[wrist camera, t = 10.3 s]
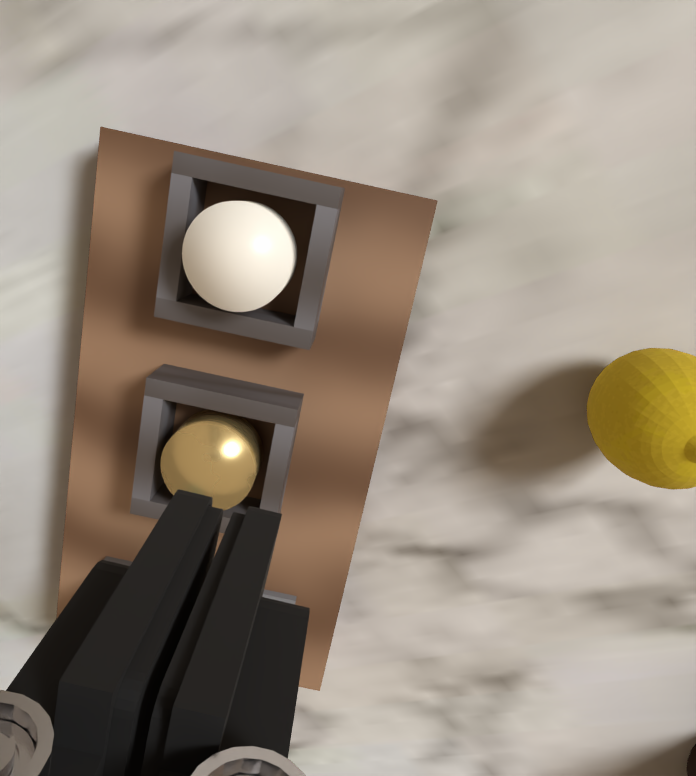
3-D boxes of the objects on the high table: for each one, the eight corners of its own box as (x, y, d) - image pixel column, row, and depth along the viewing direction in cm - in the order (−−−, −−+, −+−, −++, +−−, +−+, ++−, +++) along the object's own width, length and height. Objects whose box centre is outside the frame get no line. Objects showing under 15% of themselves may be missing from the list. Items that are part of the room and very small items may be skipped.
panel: (123, 132, 29) (74, 120, 24) (432, 200, 29) (442, 201, 24) (76, 605, 36) (31, 666, 31) (323, 657, 36) (315, 725, 31)
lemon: (613, 309, 30) (694, 349, 22) (709, 369, 30) (821, 429, 23) (542, 407, 31) (595, 475, 24) (635, 462, 32) (717, 547, 24)
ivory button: (204, 190, 25) (189, 190, 23) (305, 212, 25) (299, 214, 23) (190, 291, 26) (175, 299, 24) (287, 312, 26) (280, 322, 24)
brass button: (181, 400, 28) (166, 414, 26) (270, 419, 28) (262, 435, 27) (169, 481, 30) (155, 500, 28) (255, 499, 30) (246, 520, 28)
